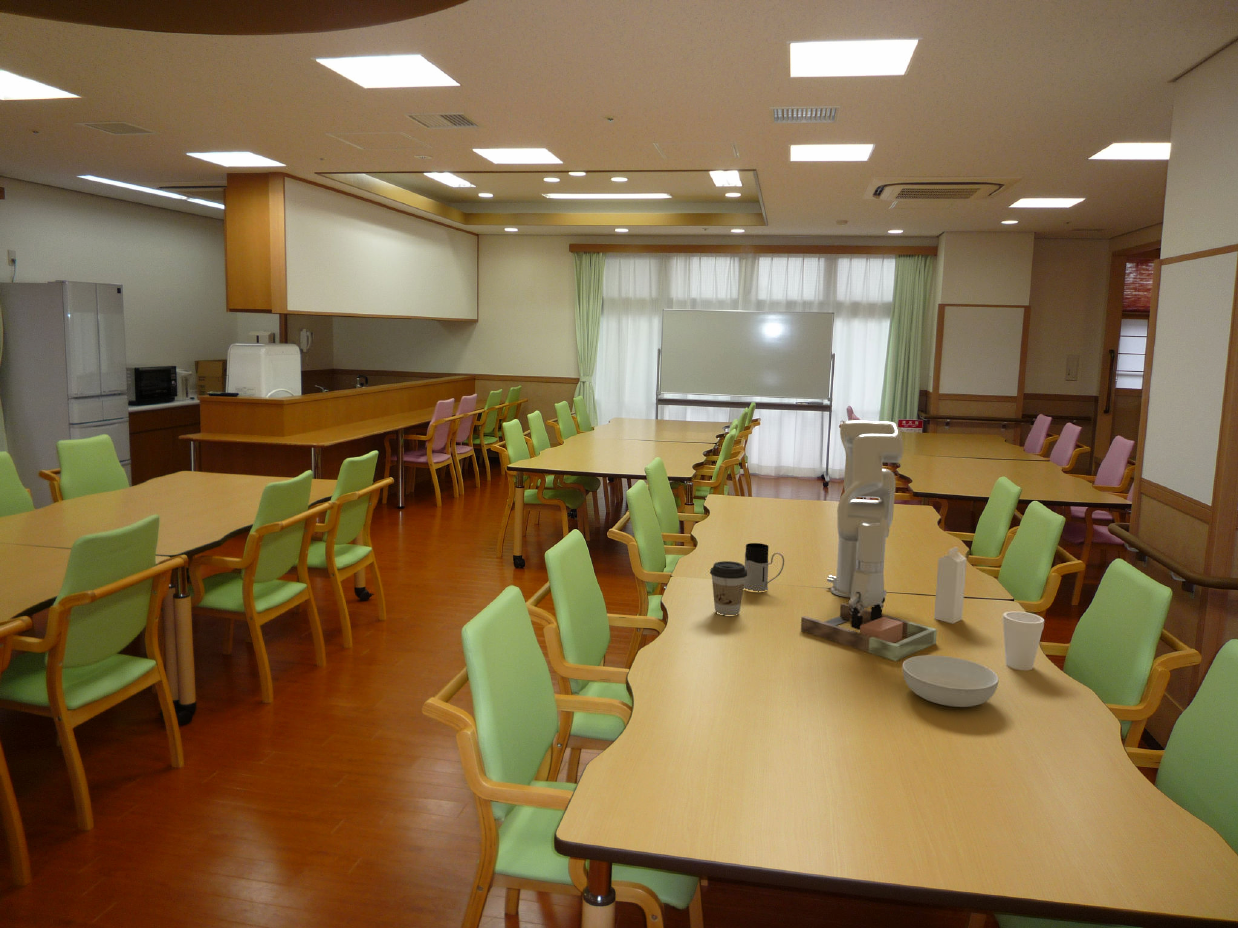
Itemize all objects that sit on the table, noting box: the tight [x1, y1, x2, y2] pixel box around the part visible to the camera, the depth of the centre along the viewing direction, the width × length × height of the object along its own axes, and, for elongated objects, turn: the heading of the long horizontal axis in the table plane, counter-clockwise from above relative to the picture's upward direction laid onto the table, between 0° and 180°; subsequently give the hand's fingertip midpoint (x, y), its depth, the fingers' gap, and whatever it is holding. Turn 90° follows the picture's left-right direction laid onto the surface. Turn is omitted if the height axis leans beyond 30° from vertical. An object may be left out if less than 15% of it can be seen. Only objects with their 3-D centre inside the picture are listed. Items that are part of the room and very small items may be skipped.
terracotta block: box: [859, 617, 903, 644], centre depth 230 cm, size 6×12×5 cm, turn 131°
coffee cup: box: [709, 560, 747, 615], centre depth 251 cm, size 11×11×15 cm
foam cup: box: [1001, 610, 1045, 671], centre depth 213 cm, size 10×9×13 cm
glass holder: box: [744, 542, 785, 592], centre depth 275 cm, size 9×14×15 cm, turn 54°
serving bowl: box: [902, 654, 1000, 708], centre depth 192 cm, size 21×21×7 cm
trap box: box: [800, 602, 938, 662], centre depth 233 cm, size 30×21×4 cm
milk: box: [933, 546, 968, 624], centre depth 248 cm, size 6×6×22 cm
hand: (866, 624), depth 233 cm, fingers open, 9 cm apart
